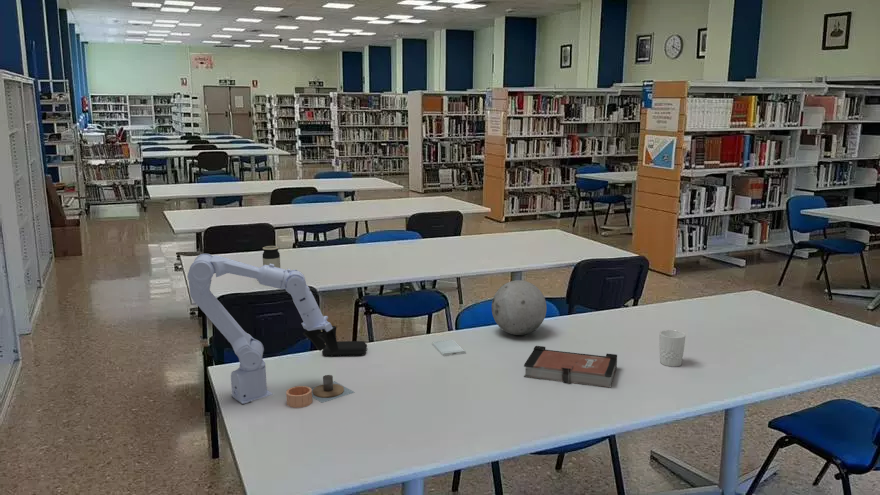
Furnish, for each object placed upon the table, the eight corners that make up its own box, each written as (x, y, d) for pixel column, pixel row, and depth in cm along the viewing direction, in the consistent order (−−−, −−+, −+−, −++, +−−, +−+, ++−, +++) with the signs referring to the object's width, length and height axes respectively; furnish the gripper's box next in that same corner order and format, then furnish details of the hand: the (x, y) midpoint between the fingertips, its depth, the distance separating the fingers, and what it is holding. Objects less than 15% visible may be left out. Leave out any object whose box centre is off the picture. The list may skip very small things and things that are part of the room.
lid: (323, 400, 191) (322, 385, 190) (307, 391, 198) (306, 376, 197) (349, 392, 197) (349, 377, 196) (333, 382, 204) (332, 368, 203)
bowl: (294, 411, 186) (293, 398, 185) (282, 403, 191) (281, 390, 190) (316, 404, 190) (316, 391, 189) (304, 397, 195) (303, 384, 195)
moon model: (557, 335, 247) (558, 282, 243) (515, 346, 236) (516, 291, 232) (521, 322, 263) (522, 272, 259) (480, 331, 252) (480, 279, 248)
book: (523, 379, 208) (523, 363, 207) (535, 360, 224) (535, 345, 223) (610, 390, 199) (611, 374, 198) (616, 369, 215) (617, 354, 214)
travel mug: (279, 286, 321) (276, 248, 318) (262, 286, 321) (260, 249, 318) (283, 281, 329) (281, 245, 326) (266, 282, 329) (264, 245, 326)
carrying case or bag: (367, 346, 238) (325, 347, 237) (367, 338, 237) (325, 339, 237) (365, 357, 227) (321, 358, 227) (365, 348, 227) (321, 349, 226)
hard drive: (431, 341, 238) (442, 353, 227) (453, 339, 241) (465, 350, 229) (431, 346, 239) (442, 357, 227) (453, 343, 241) (465, 355, 229)
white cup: (687, 362, 219) (689, 333, 217) (677, 369, 214) (679, 339, 212) (664, 357, 224) (666, 328, 223) (653, 363, 219) (655, 334, 217)
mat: (321, 404, 190) (321, 402, 190) (302, 392, 198) (302, 390, 198) (354, 393, 197) (354, 392, 197) (334, 382, 205) (334, 381, 205)
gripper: (332, 303, 192) (351, 344, 195) (308, 302, 203) (327, 340, 207) (312, 316, 188) (332, 357, 191) (289, 314, 199) (308, 353, 203)
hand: (328, 349), depth 199 cm, fingers open, 7 cm apart
